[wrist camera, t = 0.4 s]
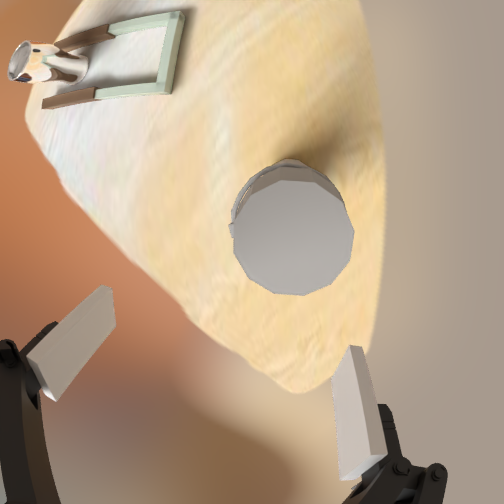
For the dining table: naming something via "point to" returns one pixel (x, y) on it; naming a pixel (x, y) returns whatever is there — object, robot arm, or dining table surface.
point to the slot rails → (69, 45)
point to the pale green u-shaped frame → (167, 59)
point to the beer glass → (46, 64)
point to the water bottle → (291, 229)
